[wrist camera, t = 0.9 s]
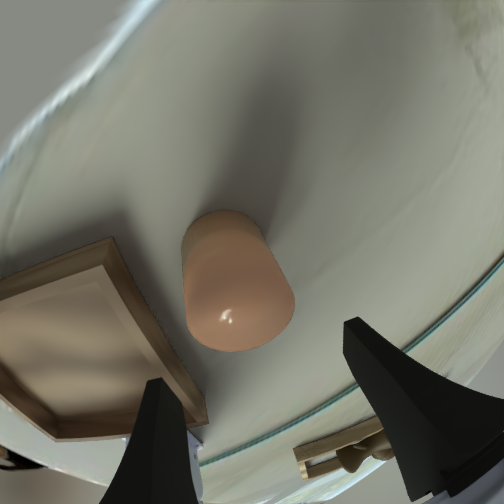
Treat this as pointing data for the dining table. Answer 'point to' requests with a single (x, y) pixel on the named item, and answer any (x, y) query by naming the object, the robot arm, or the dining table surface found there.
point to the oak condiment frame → (333, 448)
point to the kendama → (365, 451)
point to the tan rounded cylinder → (232, 284)
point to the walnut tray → (84, 348)
